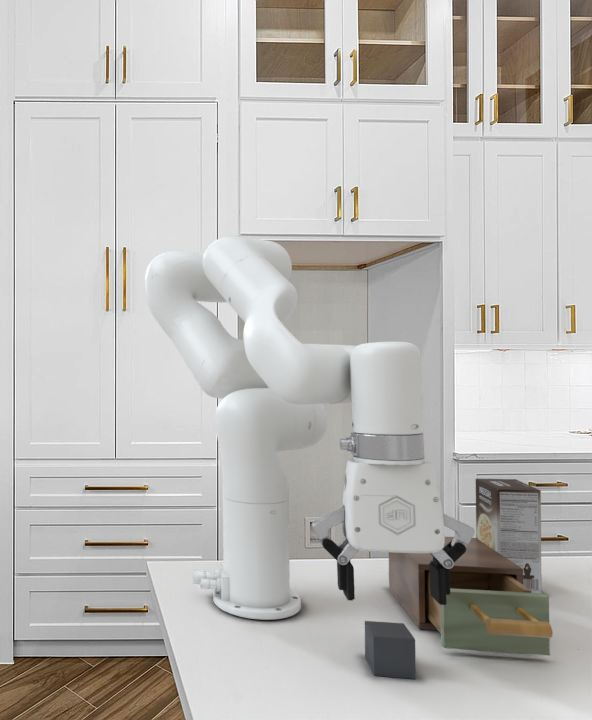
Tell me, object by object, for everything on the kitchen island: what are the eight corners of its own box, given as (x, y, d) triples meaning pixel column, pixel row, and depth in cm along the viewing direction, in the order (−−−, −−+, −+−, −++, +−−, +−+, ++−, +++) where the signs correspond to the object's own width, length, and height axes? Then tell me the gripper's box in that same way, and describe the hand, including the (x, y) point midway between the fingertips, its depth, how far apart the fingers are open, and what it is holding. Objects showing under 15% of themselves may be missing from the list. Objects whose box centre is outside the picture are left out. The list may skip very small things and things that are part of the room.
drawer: (582, 683, 64) (580, 619, 64) (465, 674, 66) (464, 611, 66) (497, 610, 83) (496, 560, 83) (409, 604, 85) (409, 556, 85)
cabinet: (524, 636, 77) (523, 568, 77) (419, 629, 79) (418, 563, 80) (477, 594, 91) (476, 537, 92) (389, 589, 94) (388, 534, 94)
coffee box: (474, 573, 101) (473, 477, 101) (517, 575, 100) (515, 478, 100) (498, 592, 92) (496, 487, 92) (545, 595, 91) (543, 489, 91)
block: (374, 676, 67) (373, 636, 67) (364, 657, 72) (364, 620, 72) (416, 679, 67) (415, 639, 67) (404, 660, 71) (403, 623, 71)
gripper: (314, 452, 67) (319, 607, 67) (483, 452, 64) (489, 615, 64) (305, 445, 75) (309, 584, 74) (456, 445, 72) (462, 590, 71)
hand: (392, 598), depth 69 cm, fingers open, 9 cm apart
